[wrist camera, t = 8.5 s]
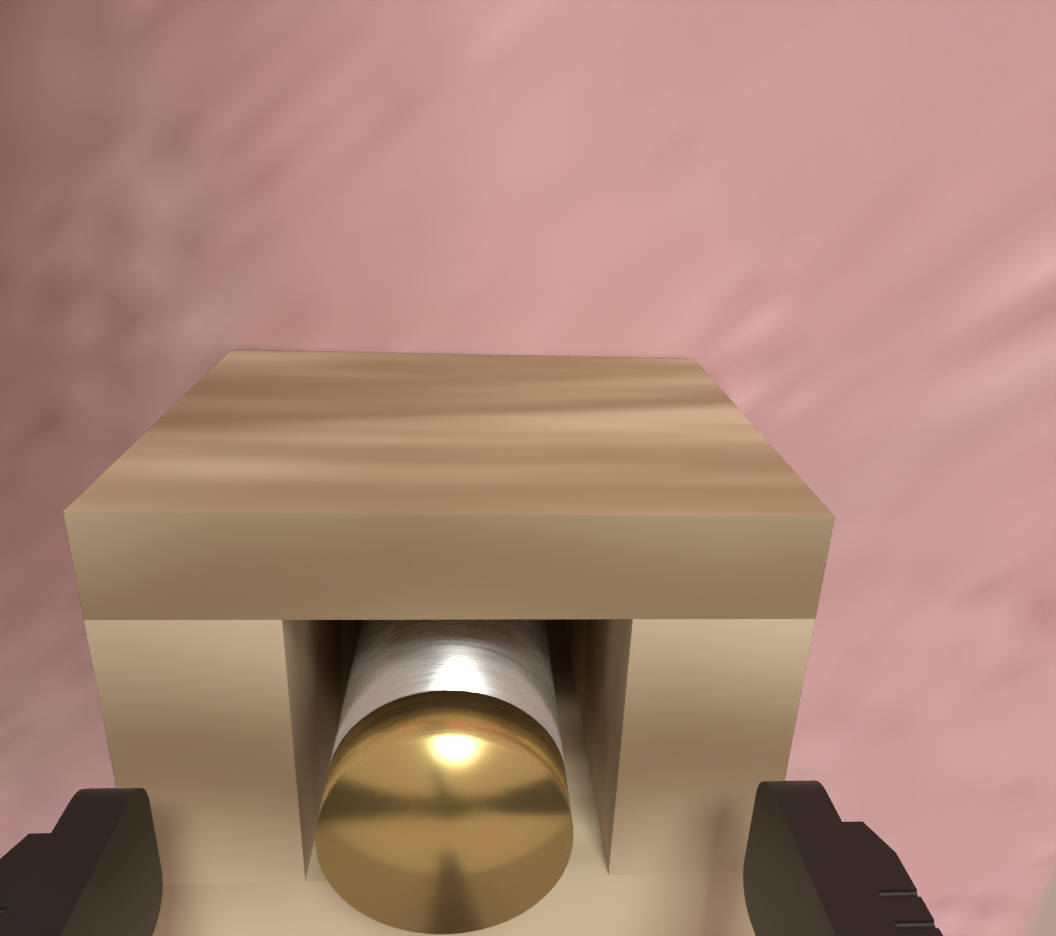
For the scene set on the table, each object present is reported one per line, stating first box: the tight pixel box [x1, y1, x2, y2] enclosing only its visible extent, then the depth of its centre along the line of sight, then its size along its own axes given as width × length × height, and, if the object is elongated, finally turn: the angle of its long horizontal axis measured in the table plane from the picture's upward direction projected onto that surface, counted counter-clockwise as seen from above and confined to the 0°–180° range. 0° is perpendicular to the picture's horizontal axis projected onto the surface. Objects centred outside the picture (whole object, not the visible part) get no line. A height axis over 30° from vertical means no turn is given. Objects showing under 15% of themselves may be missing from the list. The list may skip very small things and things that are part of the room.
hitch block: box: [63, 350, 835, 936], centre depth 17 cm, size 16×10×10 cm, turn 178°
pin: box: [315, 619, 573, 934], centre depth 16 cm, size 3×3×10 cm
